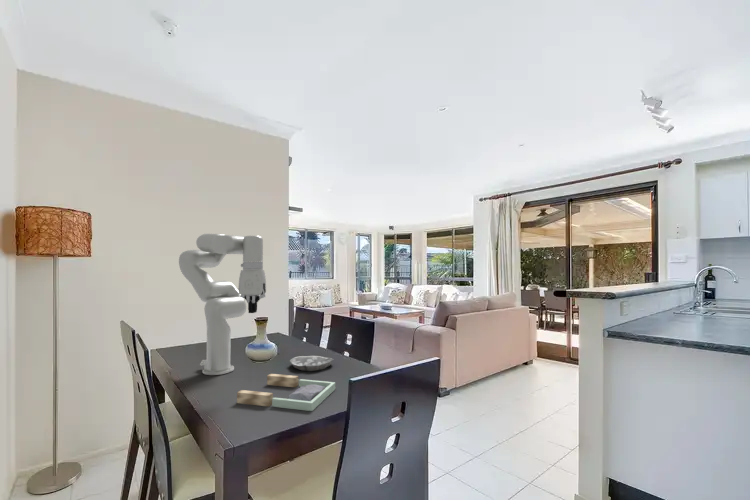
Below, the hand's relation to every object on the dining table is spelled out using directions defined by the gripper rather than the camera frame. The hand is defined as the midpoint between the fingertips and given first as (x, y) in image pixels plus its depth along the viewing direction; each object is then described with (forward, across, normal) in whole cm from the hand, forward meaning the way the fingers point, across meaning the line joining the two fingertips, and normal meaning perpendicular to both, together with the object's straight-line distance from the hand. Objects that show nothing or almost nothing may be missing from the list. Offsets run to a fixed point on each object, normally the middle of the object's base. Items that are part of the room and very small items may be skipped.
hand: (252, 312), depth 143 cm
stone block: (+28, +29, -11) cm, 41 cm away
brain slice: (+28, +14, +24) cm, 39 cm away
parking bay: (+27, +28, -10) cm, 40 cm away
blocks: (+27, +14, -10) cm, 32 cm away
